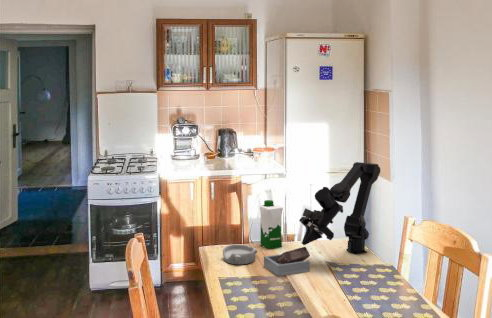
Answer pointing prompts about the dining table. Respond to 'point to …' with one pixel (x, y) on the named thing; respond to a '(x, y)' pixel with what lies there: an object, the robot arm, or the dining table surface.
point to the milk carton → (271, 225)
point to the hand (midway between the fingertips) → (302, 244)
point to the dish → (239, 254)
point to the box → (293, 256)
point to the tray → (285, 266)
